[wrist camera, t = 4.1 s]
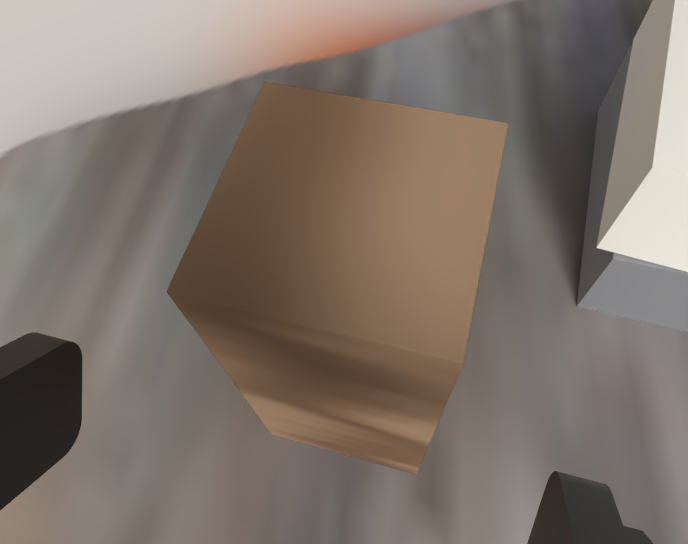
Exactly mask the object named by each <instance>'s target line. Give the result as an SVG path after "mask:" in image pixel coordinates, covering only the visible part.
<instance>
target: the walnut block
mask: <svg viewBox="0 0 688 544" xmlns="http://www.w3.org/2000/svg"><path fill="white" fill-rule="evenodd" d="M507 127H508V123H505V122H499V121H493V120H487V119H481V118H475V117H470V116H464V115H458V114H452V113H446V112H440V111H434V110H428V109H422V108H416V107H410V106H404V105H398V104H393V103H387V102H381V101H375V100H369V99H363V98H357V97H351V96H345V95H339V94H333V93H327V92H321V91H316V90H310V89H304V88H298V87H292V86H286V85H280V84H274V83H268V82H265V83H264V85H263V87H262V89H261V91H260V93H259V95H258V97H257V100H256V102H255V104H254V106H253V108H252V110H251V112H250V115H249V117H248V119H247V121H246V123H245V125H244V127H243V129H242V132H241V134H240V136H239V138H238V140H237V142H236V144H235V147H234V149H233V151H232V153H231V155H230V157H229V159H228V161H227V164H226V166H225V168H224V170H223V172H222V174H221V176H220V179H219V181H218V183H217V185H216V187H215V189H214V191H213V193H212V196H211V198H210V200H209V202H208V204H207V206H206V208H205V211H204V213H203V215H202V217H201V219H200V221H199V223H198V225H197V228H196V230H195V232H194V234H193V236H192V238H191V240H190V243H189V245H188V247H187V249H186V251H185V253H184V255H183V257H182V260H181V262H180V264H179V266H178V268H177V270H176V272H175V275H174V277H173V279H172V281H171V283H170V285H169V287H168V290H167V293H168V294H169V296H170V297H171V298H172V300H173V301H174V302H175V304H176V305H177V307H178V308H179V309H180V311H181V312H182V313H183V315H184V316H185V317H186V319H187V320H188V321H189V323H190V324H191V326H192V327H193V328H194V330H195V331H196V332H197V334H198V335H199V336H200V338H201V339H202V340H203V342H204V343H205V344H206V346H207V347H208V349H209V350H210V351H211V353H212V354H213V355H214V357H215V358H216V359H217V361H218V362H219V363H220V365H221V366H222V368H223V369H224V370H225V372H226V373H227V374H228V376H229V377H230V378H231V380H232V381H233V382H234V384H235V385H236V387H237V388H238V389H239V391H240V392H241V393H242V395H243V396H244V397H245V399H246V400H247V401H248V403H249V404H250V406H251V407H252V408H253V410H254V411H255V412H256V414H257V415H258V416H259V418H260V419H261V420H262V422H263V423H264V425H265V426H266V427H267V429H268V430H269V431H270V433H271V434H273V435H276V436H280V437H284V438H287V439H291V440H294V441H298V442H301V443H305V444H309V445H312V446H316V447H319V448H323V449H326V450H330V451H334V452H337V453H341V454H344V455H348V456H351V457H355V458H359V459H362V460H366V461H369V462H373V463H377V464H380V465H384V466H387V467H391V468H394V469H398V470H402V471H405V472H409V473H412V474H417V471H418V469H419V467H420V464H421V462H422V459H423V457H424V455H425V452H426V450H427V448H428V445H429V443H430V441H431V438H432V436H433V434H434V431H435V429H436V426H437V424H438V422H439V419H440V417H441V415H442V412H443V410H444V408H445V405H446V403H447V401H448V398H449V396H450V393H451V391H452V389H453V386H454V384H455V382H456V379H457V377H458V375H459V372H460V370H461V368H462V365H463V362H464V357H465V351H466V346H467V341H468V335H469V330H470V325H471V319H472V314H473V309H474V303H475V298H476V293H477V287H478V282H479V277H480V271H481V266H482V261H483V255H484V250H485V245H486V239H487V234H488V229H489V223H490V218H491V213H492V207H493V202H494V197H495V191H496V186H497V181H498V175H499V170H500V165H501V159H502V154H503V149H504V143H505V138H506V133H507Z"/></svg>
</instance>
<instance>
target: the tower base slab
mask: <svg viewBox="0 0 688 544" xmlns="http://www.w3.org/2000/svg"><path fill="white" fill-rule="evenodd" d="M631 50H632V44H630V46H629V48H628V50H627V52H626V54H625V56H624V58H623V60H622V63H621V65H620V67H619V69H618V71H617V73H616V75H615V77H614V79H613V81H612V83H611V85H610V87H609V89H608V91H607V93H606V95H605V97H604V99H603V102H602V104H601V106H600V108H599V110H598V116H597V125H596V134H595V143H594V152H593V161H592V170H591V179H590V189H589V198H588V207H587V216H586V225H585V234H584V243H583V252H582V261H581V271H580V280H579V289H578V298H577V307H581V308H585V309H589V310H594V311H598V312H602V313H607V314H611V315H615V316H620V317H624V318H629V319H633V320H637V321H642V322H646V323H650V324H655V325H659V326H664V327H668V328H672V329H677V330H681V331H685V332H688V272H686V271H682V270H678V269H674V268H670V267H667V266H663V265H659V264H655V263H652V262H648V261H644V260H640V259H637V258H633V257H629V256H625V255H622V254H618V253H614V252H610V251H607V250H603V249H599V248H596V247H597V241H598V236H599V230H600V224H601V219H602V213H603V207H604V202H605V196H606V191H607V185H608V179H609V174H610V168H611V162H612V157H613V151H614V145H615V140H616V134H617V129H618V123H619V117H620V112H621V106H622V100H623V95H624V89H625V84H626V78H627V72H628V67H629V61H630V55H631Z"/></svg>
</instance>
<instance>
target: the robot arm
mask: <svg viewBox="0 0 688 544" xmlns="http://www.w3.org/2000/svg"><path fill="white" fill-rule="evenodd" d="M81 420H82V353H81V350H80V347H79V346H78V345H77V344H76V343H73V342H70V341H66V340H63V339H59V338H55V337H51V336H47V335H44V334H40V333H29V334H26V335H24V336H22V337H20V338H18V339H16V340H14V341H12V342H10V343H8V344H6V345H4V346H2V347H0V510H1V509H2V508H4V507H5V506H6V505H7V504H8V503H10V502H11V501H12V500H13V499H14V498H15V497H17V496H18V495H19V494H20V493H21V492H23V491H24V490H25V489H26V488H27V487H29V486H30V485H31V484H32V483H33V482H34V481H36V480H37V479H38V478H39V477H40V476H42V475H43V474H44V473H45V472H46V471H47V470H49V469H50V468H51V467H52V466H53V465H55V464H56V463H57V462H58V461H59V460H61V459H62V458H63V457H64V456H65V455H66V454H67V453H68V452H69V450H70V449H71V447H72V446H73V444H74V443H75V441H76V438H77V436H78V434H79V431H80V427H81ZM528 544H653V543H652V542H651V540H650V539H649V538H648V537H647V536H646V535H645V533H644V532H643V531H640V530H637V529H633V528H629V527H626V526H623V524H622V521H621V518H620V515H619V513H618V510H617V507H616V504H615V501H614V498H613V495H612V492H611V490H610V488H609V487H608V486H607V485H606V484H602V483H598V482H595V481H591V480H587V479H583V478H580V477H576V476H572V475H568V474H564V473H561V472H557V471H554V472H553V473H552V474H551V476H550V477H549V479H548V482H547V485H546V488H545V491H544V494H543V497H542V500H541V503H540V506H539V509H538V513H537V516H536V519H535V522H534V525H533V528H532V531H531V534H530V537H529V540H528Z"/></svg>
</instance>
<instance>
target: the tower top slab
mask: <svg viewBox="0 0 688 544" xmlns="http://www.w3.org/2000/svg"><path fill="white" fill-rule="evenodd" d="M596 248H599V249H603V250H607V251H610V252H614V253H618V254H622V255H625V256H629V257H633V258H637V259H640V260H644V261H648V262H652V263H655V264H659V265H663V266H667V267H670V268H674V269H678V270H682V271H686V272H688V0H653V1H652V3H651V5H650V7H649V9H648V11H647V13H646V15H645V17H644V19H643V21H642V23H641V25H640V27H639V29H638V31H637V33H636V35H635V37H634V39H633V44H632V50H631V55H630V61H629V67H628V72H627V78H626V84H625V89H624V95H623V100H622V106H621V112H620V117H619V123H618V129H617V134H616V140H615V145H614V151H613V157H612V162H611V168H610V174H609V179H608V185H607V191H606V196H605V202H604V207H603V213H602V219H601V224H600V230H599V236H598V241H597V247H596Z"/></svg>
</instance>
